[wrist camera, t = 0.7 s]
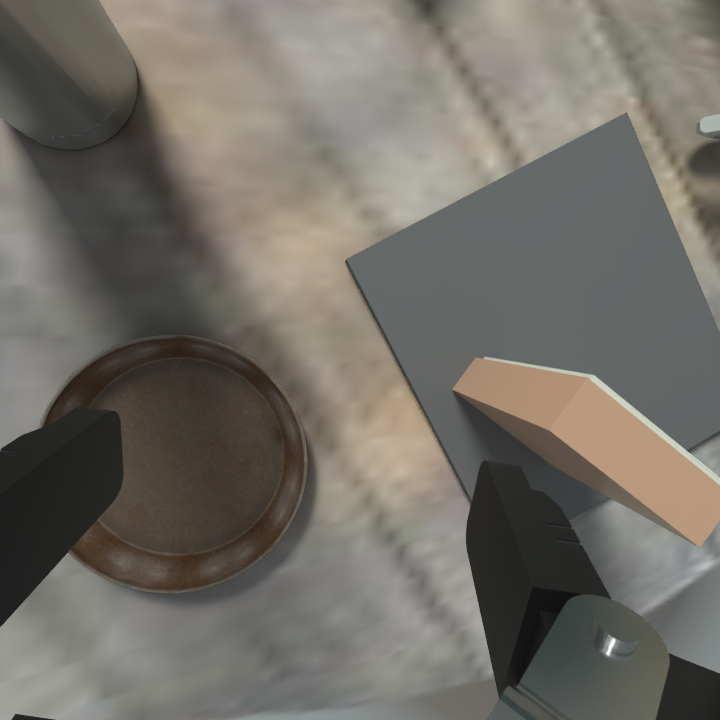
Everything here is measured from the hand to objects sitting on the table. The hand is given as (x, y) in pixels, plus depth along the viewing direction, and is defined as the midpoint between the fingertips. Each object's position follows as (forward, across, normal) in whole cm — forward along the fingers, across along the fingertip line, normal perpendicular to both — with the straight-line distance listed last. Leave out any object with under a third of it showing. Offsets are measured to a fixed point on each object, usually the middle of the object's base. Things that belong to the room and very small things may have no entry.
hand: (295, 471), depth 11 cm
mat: (+28, -16, +3) cm, 32 cm away
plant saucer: (+21, +11, +14) cm, 27 cm away
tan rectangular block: (+25, -13, +8) cm, 29 cm away
